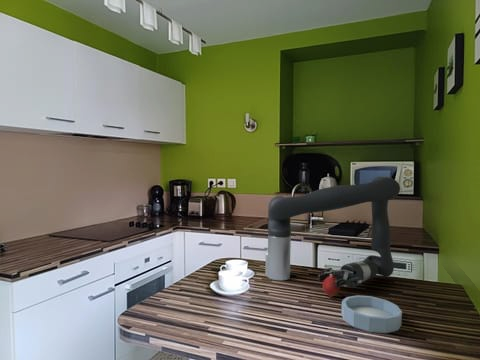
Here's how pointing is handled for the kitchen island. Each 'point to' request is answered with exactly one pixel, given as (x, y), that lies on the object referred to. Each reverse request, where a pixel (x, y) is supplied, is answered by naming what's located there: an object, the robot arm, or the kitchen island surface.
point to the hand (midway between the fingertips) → (327, 281)
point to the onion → (330, 286)
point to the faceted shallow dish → (371, 314)
